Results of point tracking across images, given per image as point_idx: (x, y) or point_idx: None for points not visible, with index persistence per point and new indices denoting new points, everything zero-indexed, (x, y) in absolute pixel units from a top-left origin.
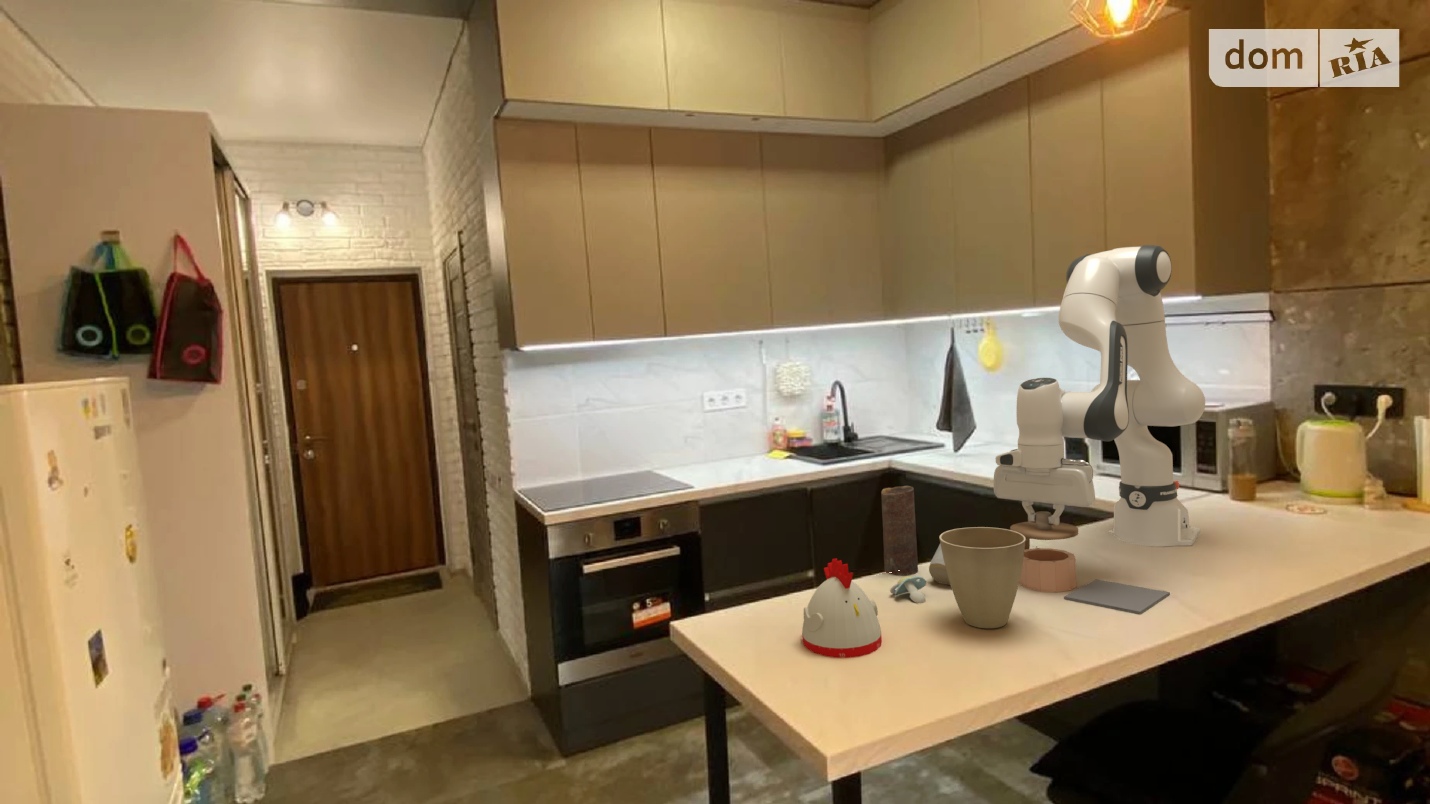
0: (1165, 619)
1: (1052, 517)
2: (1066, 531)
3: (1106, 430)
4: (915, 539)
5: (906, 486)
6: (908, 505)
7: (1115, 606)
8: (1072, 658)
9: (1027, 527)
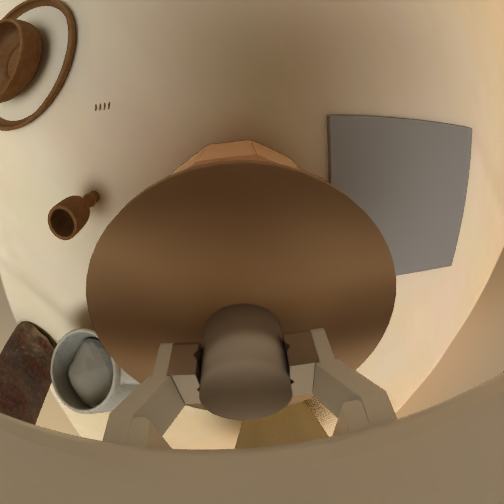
0: (473, 257)
1: (314, 391)
2: (358, 319)
3: None
4: (26, 392)
5: None
6: None
7: (419, 269)
8: (393, 401)
9: None
